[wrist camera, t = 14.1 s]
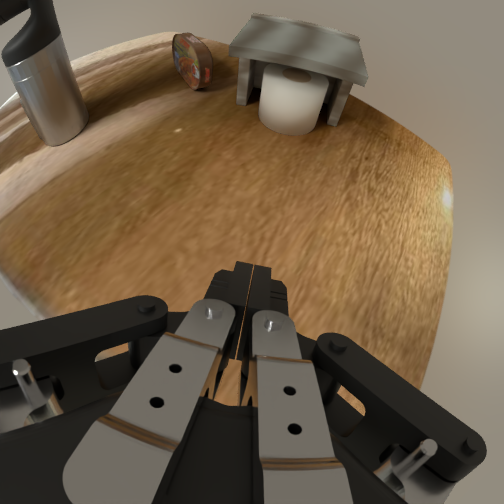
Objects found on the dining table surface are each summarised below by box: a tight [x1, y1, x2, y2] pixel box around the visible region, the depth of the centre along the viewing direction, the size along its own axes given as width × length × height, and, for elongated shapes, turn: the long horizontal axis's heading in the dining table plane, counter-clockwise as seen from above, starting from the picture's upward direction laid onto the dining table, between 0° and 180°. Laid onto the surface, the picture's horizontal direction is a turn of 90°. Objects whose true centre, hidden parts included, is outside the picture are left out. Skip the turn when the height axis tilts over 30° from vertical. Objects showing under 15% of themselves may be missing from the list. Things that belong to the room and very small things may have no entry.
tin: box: [172, 33, 213, 90], centre depth 39 cm, size 15×3×8 cm, turn 28°
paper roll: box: [258, 63, 329, 136], centre depth 36 cm, size 9×9×8 cm
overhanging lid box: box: [229, 13, 368, 127], centre depth 34 cm, size 16×14×14 cm
